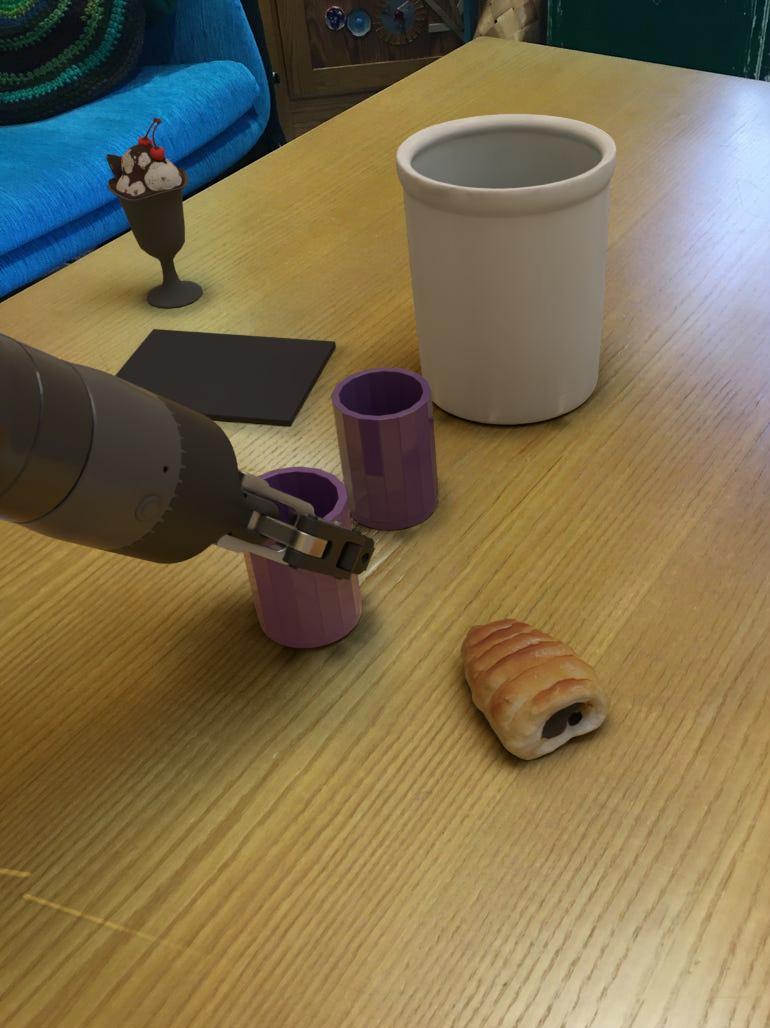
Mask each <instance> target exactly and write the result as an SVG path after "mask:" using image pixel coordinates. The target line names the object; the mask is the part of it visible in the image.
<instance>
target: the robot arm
mask: <svg viewBox="0 0 770 1028" xmlns="http://www.w3.org/2000/svg"><path fill="white" fill-rule="evenodd" d="M257 476H258V475H254V474H252V473H250V472H247V471H245V470H242V469H239V466H238V460H237V455H236V452H235V450H234V447H233V444H232V441H231V439H230V438H229V437H228V435H227V434H226V432H225V431H224V430H223V428H222V427H221V426H220V424H218V423H216V422H215V420H211V419H210V418H209V417H207V416H205V415H203V414H201V413H199V412H196V411H194V410H192V409H189V408H187V407H185V406H183V405H180V404H178V403H176V402H173V401H171V400H169V399H167V398H164V397H162V396H160V395H157V394H155V393H153V392H150V391H148V390H146V389H144V388H141V387H139V386H137V385H135V384H132V383H130V382H128V381H125V380H123V379H121V378H119V377H116V376H115V375H114V374H111V373H109V372H106V371H104V370H101V369H98V368H95V367H92V366H87V365H84V364H79V363H75V362H71V361H68V360H65V359H63V358H59V357H58V356H55V355H52V354H50V353H48V352H46V351H43V350H42V349H39V348H37V347H34V346H31V345H30V344H28V343H25V342H22V341H20V340H17V339H16V338H13V337H11V336H8V335H6V334H4V333H1V332H0V520H1V521H5V522H9V523H12V524H15V525H17V526H21V527H23V528H25V529H27V530H29V531H32V532H34V533H36V534H39V535H42V536H43V537H44V536H45V537H48V538H51V539H53V540H57V541H62V542H66V543H70V544H74V545H79V546H82V547H87V548H91V549H96V550H100V551H103V552H107V553H112V554H116V555H121V556H125V557H129V558H130V557H131V558H133V559H138V560H141V561H146V562H151V563H155V564H161V565H173V564H179V563H183V562H185V561H188V560H190V559H194V558H195V557H196V556H199V555H200V554H202V553H203V552H204V551H205V550H207V549H208V548H209V547H211V546H212V545H214V546H216V547H220V548H222V549H225V550H228V551H231V552H233V553H236V554H237V553H239V554H240V553H243V551H248V552H251V553H254V554H257V555H259V556H262V557H265V558H268V559H271V560H273V561H276V562H279V563H282V564H285V565H288V566H289V567H291V568H293V569H296V570H298V568H301V569H304V570H308V571H312V572H316V573H320V574H324V575H329V576H333V577H334V578H336V579H339V580H342V579H345V580H350V577H351V575H352V573H353V574H357V575H358V576H359V575H361V574H362V573H364V572H367V569H368V568H369V564H370V562H371V560H372V557H373V554H374V553H375V550H376V547H375V540H374V539H373V538H371V537H370V536H367V535H365V534H363V533H362V532H361V531H360V530H358V529H355V528H352V531H351V530H349V529H347V528H345V527H343V526H341V524H342V523H340V522H338V521H335V520H333V522H331V521H328V520H326V519H323V518H321V517H318V516H316V515H315V514H314V508H313V506H312V505H311V504H309V503H307V502H305V501H303V500H301V499H299V498H296V497H294V496H291V495H289V494H286V493H284V492H281V491H279V490H276V489H274V488H271V487H270V486H269V484H268V482H267V481H265V480H263V479H261V478H259V477H257ZM257 493H258V494H257ZM259 494H260V495H259ZM261 495H263V496H261ZM264 496H265V497H264ZM266 497H268V498H270V499H273V500H275V501H278V502H280V503H283V504H285V505H287V507H288V510H289V512H288V516H287V518H286V521H285V522H282V521H280V520H279V518H280V513H281V511H280V507H279V506H278V504H277V503H276V502H274V501H272V500H270V499H268V498H266ZM270 538H271V539H274V540H276V541H277V542H276V543H275V544H274V545H272V546H266V545H263V543H265V542H267V541H268V540H269V539H270Z"/></svg>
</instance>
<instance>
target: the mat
mask: <svg viewBox="0 0 770 1028" xmlns="http://www.w3.org/2000/svg"><path fill="white" fill-rule="evenodd" d="M336 347H337V345H336V341H333V340H320V339H305V338H304V339H303V338H291V337H275V336H261V335H247V334H232V333H219V332H206V331H205V332H204V331H203V332H202V331H188V330H173V329H161V328H160V329H159V328H153V329H152V330H151V331H150V332H149V334H148V335H147V336H146V337H145V338H144V340H143V341H142V342H141V343H140V344H139V346H137V348H136V349H135V351H133V353H132V354H131V356H129V358H128V359H127V360H126V362H125V363H123V365H122V367H121V368H120V369H119V370H118V371H117V373H116V374H115V375H114V376H116V377H119V378H121V379H123V380H125V381H128V382H130V383H132V384H135V385H137V386H139V387H141V388H144V389H146V390H148V391H150V392H153V393H155V394H157V395H160V396H162V397H164V398H167V399H169V400H171V401H173V402H176V403H178V404H180V405H183V406H185V407H187V408H189V409H192V410H194V411H196V412H199V413H201V414H203V415H205V416H207V417H209V418H210V419H211V420H213V421H222V422H223V421H225V422H238V423H248V424H249V423H250V424H260V425H261V424H262V425H275V426H284V427H285V426H287V427H291V426H292V424H293V423H294V421H295V419H296V418H297V416H298V414H299V412H300V410H301V408H302V407H303V405H304V404H305V401H306V400H307V399H308V396H309V395H310V393H311V391H312V389H313V387H314V386H315V384H316V382H317V380H318V379H319V377H320V376H321V374H322V371H324V368H325V366H326V365H327V363H328V361H329V359H330V358H331V356H332V354H333V352H335V351H334V350H335V349H336Z"/></svg>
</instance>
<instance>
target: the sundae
mask: <svg viewBox="0 0 770 1028" xmlns="http://www.w3.org/2000/svg"><path fill="white" fill-rule="evenodd" d="M152 120H153V121H152V123H151V124H150V126H149V127H148V130H147V132H146V133H145V135H144V136H141V137H139V138H138V139H137V144H133V145H132V146H130V147H129V148H128V149H127V150H126V151H125V152H124V153H123V155H117V154H113V153H112V154H110V153H107V154H106V155H105V159H106V161H107V164H108V166H109V169H110V171H111V172H112V175H113V177H111V178H109V179H108V181H107V182H108V183H107V185H106V189H107V191H109V192H110V193H111V194H113V195H114V196H116V197H117V199H118V200H119V203H120V205H121V207H122V210H123V212H124V215H125V217H126V219H127V223H128V224H129V226H130V230H131V232H132V234H133V236H134V239H135V241H136V242H137V244H138V247H139V248H140V249H141V251H142V252H144V253H146V254H147V255H148V256H150V257H152V258H154V259H157V260H158V261H159V263H160V268H161V271H162V282H161V284H157V285H156V286H154V287H152V288H150V290H148V292H147V294H146V301H147V302H148V303H149V304H150V305H151V306H154V307H158V308H161V309H162V308H164V309H173V308H174V309H175V308H179V307H183V306H187V305H190V304H192V303H194V302H196V301H197V300H198V299H200V297H201V296H202V295H203V288H202V287H201V285H199V284H198V283H196V282H194V281H191V280H181V278H180V277H179V275H178V273H177V271H176V266H175V263H174V262H175V261H174V259H175V258H176V255H177V254H178V253H180V251H182V250H181V249H183V246H184V245H185V243H186V224H185V213H184V205H183V204H184V203H183V190H184V189H186V188H187V187H188V185H189V175H188V173H187V172H186V170H185V169H184V168H183V167H177V165H176V164H174V163H173V162H172V161H171V160H170V159H168V158H167V157H166V151H165V149H164V148H163V147H162V146H158V145H157V143H156V140H155V132H156V129H157V128H158V126H159V125H160V124H162V122H163V121H162V119H161V118H158V117H153V118H152ZM154 124H156V125H155V126H154ZM153 126H154V127H153ZM152 127H153V129H152ZM151 129H152V134H151V138H150V137H149V133H150V132H151Z"/></svg>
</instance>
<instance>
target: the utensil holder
mask: <svg viewBox="0 0 770 1028" xmlns="http://www.w3.org/2000/svg"><path fill="white" fill-rule="evenodd" d="M395 166H396V167H395V168H396V174H397V178H398V180H399V183H400V185H401V186H402V194H403V204H404V206H403V207H404V215H405V225H406V226H405V227H406V238H407V239H406V240H407V248H408V259H409V270H410V278H411V279H410V281H411V290H412V299H413V309H414V318H415V319H414V320H415V330H416V338H417V344H418V345H417V346H418V355H419V362H420V370H421V376H422V377H423V378H424V379H425V380H427V381H428V383H429V386H430V389H431V394H432V403H434V404H435V405H436V406H438V408H440V409H441V410H443V411H445V412H446V413H449V414H450V415H451V414H452V415H453V416H456V417H458V418H461V419H465V420H469V421H471V422H476V423H481V424H487V425H524V424H525V425H526V424H532V423H538V422H543V421H548V420H551V419H554V418H557V417H559V416H562V415H564V414H567V413H569V412H572V411H574V410H575V409H577V408H578V407H580V406H581V405H583V404H584V403H585V402H586V401H587V400H588V399H589V398H590V397H591V396H592V395H593V393H594V391H595V389H596V387H597V384H598V378H599V372H600V371H599V370H600V357H601V347H602V346H601V344H602V335H603V324H604V306H605V293H606V292H605V290H606V275H607V257H608V244H609V243H608V242H609V226H610V207H611V183H612V179H613V176H614V175H615V171H616V168H617V167H616V166H617V145H616V142H615V141H614V139H613V138H612V137H611V135H610V134H608V133H607V132H606V131H604V130H603V129H601V128H599V127H597V126H595V125H593V124H590V123H588V122H584V121H580V120H577V119H573V118H568V117H561V116H554V115H545V114H530V113H500V114H499V113H497V114H483V115H475V116H469V117H463V118H457V119H453V120H448V121H445V122H440V123H436V124H433V125H431V126H428V127H424V128H422V129H420V130H418V131H416V132H414V133H413V134H411V135H410V136H409V137H407V138H406V139H405V140H404V141H403V142H402V143H401V144H400V145H399V147H398V148H397V151H396V154H395Z"/></svg>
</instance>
